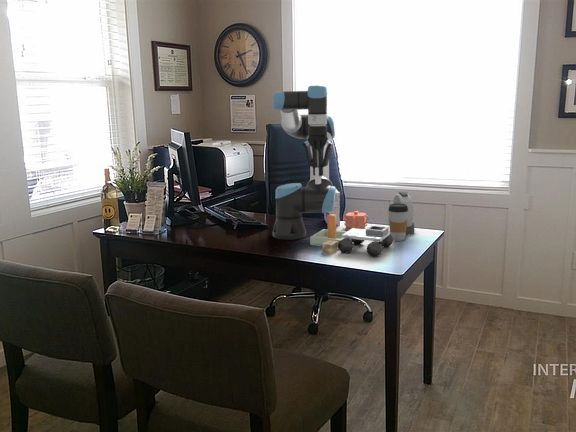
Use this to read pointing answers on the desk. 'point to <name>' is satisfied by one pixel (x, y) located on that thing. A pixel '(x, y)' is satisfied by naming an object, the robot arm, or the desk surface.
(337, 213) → the candy box
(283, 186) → the robot arm
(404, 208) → the coffee cup
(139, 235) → the desk surface
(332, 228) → the pin
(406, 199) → the grey rounded piece
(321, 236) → the tray
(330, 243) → the chock
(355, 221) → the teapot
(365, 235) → the trolley
